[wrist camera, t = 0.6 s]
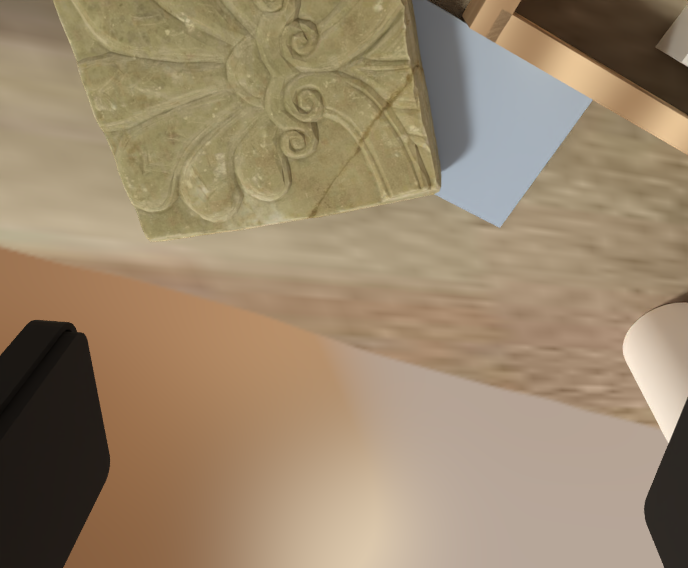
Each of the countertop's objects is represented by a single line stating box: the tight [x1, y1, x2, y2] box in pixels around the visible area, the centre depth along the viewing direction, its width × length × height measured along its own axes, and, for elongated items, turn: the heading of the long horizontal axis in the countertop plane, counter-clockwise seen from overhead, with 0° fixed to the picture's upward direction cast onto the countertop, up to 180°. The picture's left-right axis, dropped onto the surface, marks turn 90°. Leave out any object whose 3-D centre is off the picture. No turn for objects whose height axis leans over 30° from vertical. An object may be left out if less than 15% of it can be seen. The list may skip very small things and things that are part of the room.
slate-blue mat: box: [412, 0, 592, 228], centre depth 41 cm, size 14×10×1 cm
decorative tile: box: [53, 0, 441, 242], centre depth 38 cm, size 19×6×20 cm
